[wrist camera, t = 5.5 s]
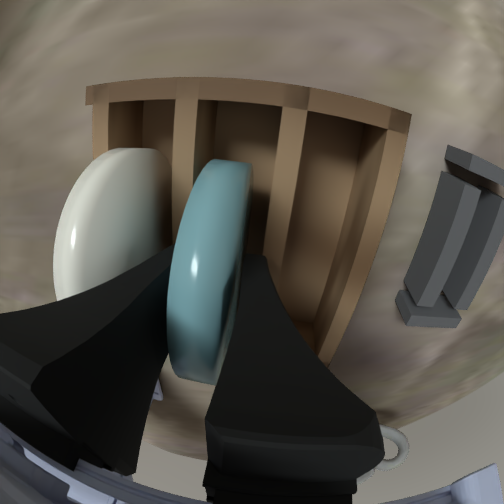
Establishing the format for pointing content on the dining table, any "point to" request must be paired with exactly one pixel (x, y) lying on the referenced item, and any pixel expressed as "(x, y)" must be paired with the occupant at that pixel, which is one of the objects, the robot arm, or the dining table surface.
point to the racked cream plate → (113, 219)
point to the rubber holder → (454, 246)
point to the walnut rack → (276, 176)
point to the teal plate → (208, 269)
